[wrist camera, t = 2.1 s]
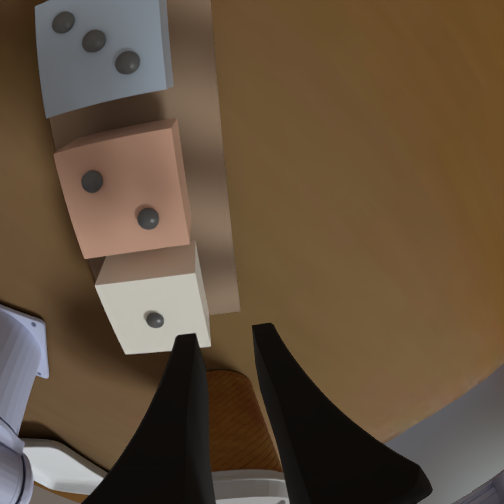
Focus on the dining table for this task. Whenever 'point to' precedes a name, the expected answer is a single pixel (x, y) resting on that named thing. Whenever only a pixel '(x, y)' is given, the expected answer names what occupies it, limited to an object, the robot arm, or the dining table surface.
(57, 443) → the salad plate
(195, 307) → the key one
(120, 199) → the key two
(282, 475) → the disposable coffee cup
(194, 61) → the board
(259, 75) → the dining table surface
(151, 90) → the key three
